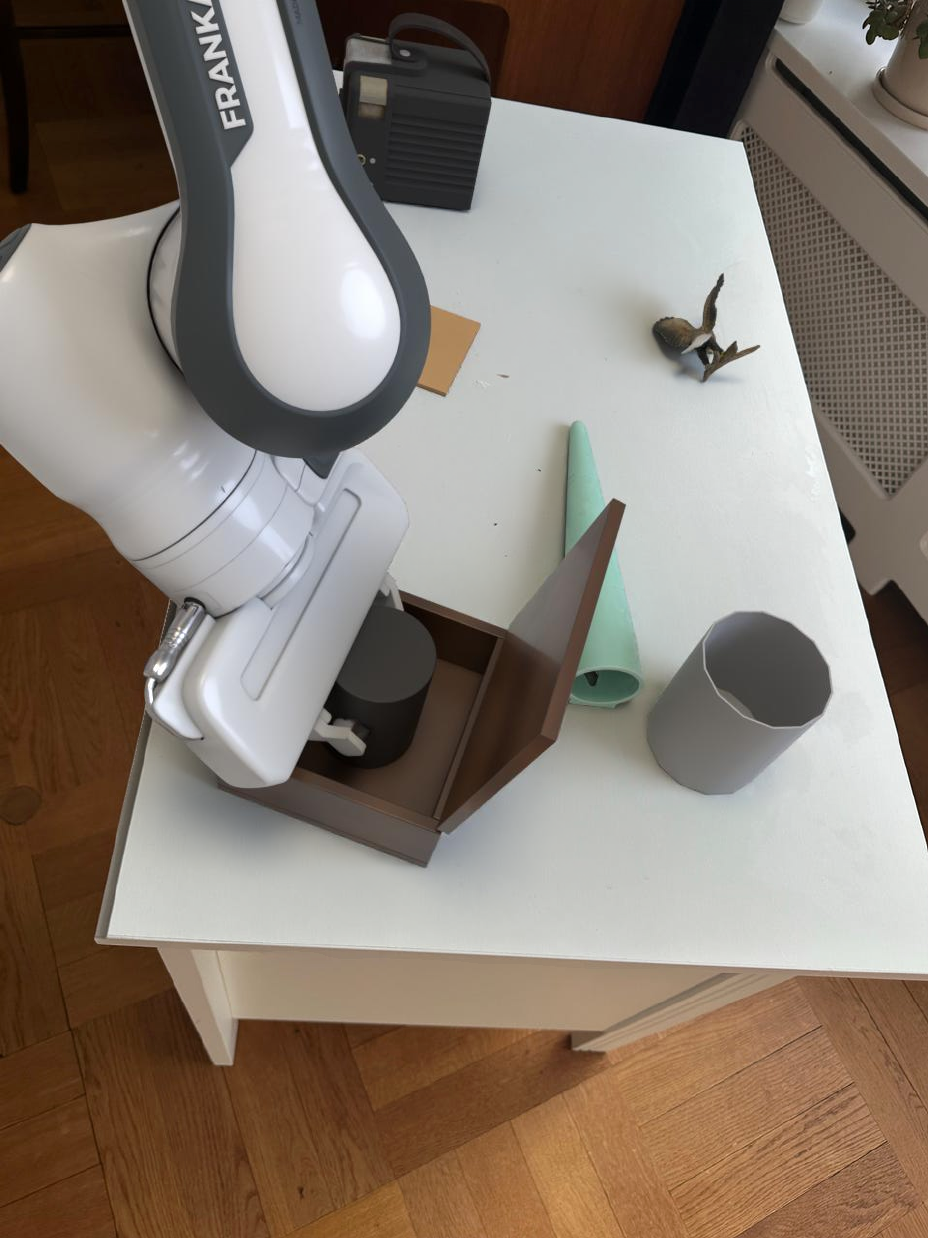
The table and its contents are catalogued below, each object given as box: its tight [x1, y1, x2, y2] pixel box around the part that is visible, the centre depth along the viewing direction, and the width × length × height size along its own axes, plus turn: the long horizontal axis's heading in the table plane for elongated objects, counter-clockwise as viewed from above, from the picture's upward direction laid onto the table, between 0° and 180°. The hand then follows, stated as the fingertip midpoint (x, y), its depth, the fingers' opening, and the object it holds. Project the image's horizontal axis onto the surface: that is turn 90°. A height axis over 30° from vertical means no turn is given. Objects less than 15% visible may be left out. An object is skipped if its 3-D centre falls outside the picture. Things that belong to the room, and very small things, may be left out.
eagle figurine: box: [653, 272, 761, 383], centre depth 86 cm, size 8×7×9 cm
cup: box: [646, 610, 834, 796], centre depth 61 cm, size 8×8×10 cm
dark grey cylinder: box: [321, 606, 437, 769], centre depth 57 cm, size 6×6×9 cm
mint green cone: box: [564, 420, 645, 709], centre depth 70 cm, size 5×6×27 cm
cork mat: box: [416, 304, 482, 397], centre depth 82 cm, size 10×10×1 cm
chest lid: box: [437, 497, 627, 835], centre depth 50 cm, size 14×15×1 cm
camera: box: [338, 12, 493, 211], centre depth 89 cm, size 11×14×15 cm
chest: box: [216, 588, 508, 869], centre depth 59 cm, size 14×15×6 cm
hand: (383, 690), depth 57 cm, fingers closed on dark grey cylinder, 6 cm apart
